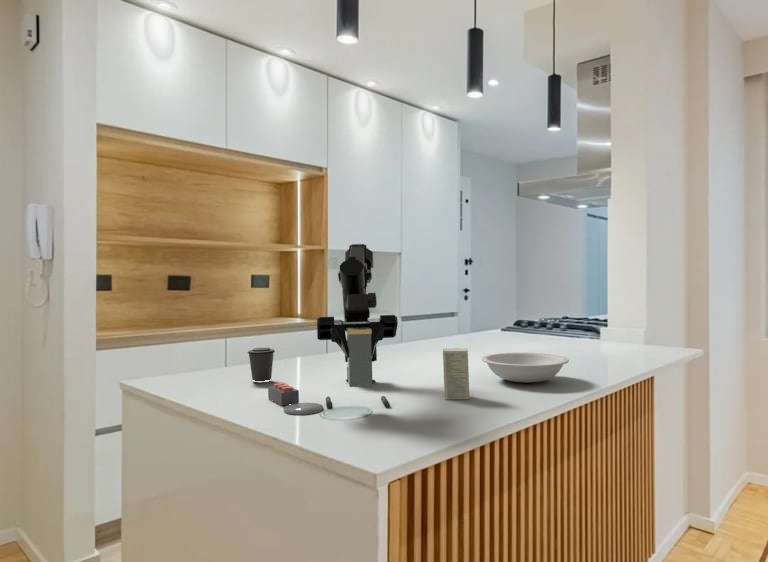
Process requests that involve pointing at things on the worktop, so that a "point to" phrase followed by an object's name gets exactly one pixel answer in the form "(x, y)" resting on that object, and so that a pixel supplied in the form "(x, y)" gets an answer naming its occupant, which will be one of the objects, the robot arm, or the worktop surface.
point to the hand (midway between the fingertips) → (359, 356)
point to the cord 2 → (385, 401)
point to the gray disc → (303, 408)
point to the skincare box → (456, 373)
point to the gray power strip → (283, 394)
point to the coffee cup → (261, 363)
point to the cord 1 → (328, 402)
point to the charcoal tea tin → (359, 356)
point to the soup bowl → (525, 366)
